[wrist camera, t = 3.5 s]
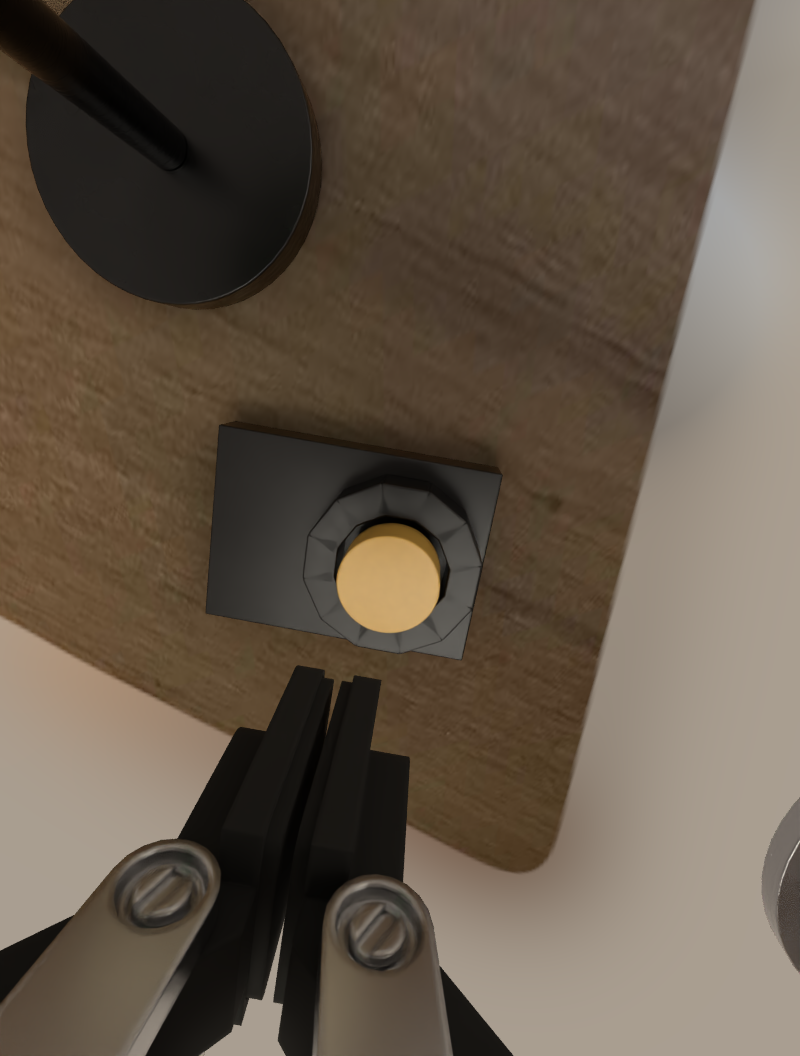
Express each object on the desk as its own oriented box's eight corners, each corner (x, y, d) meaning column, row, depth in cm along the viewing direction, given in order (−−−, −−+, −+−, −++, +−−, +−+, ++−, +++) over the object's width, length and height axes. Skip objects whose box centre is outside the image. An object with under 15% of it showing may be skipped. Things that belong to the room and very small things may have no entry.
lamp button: (448, 531, 20) (449, 546, 18) (430, 620, 21) (429, 642, 19) (351, 514, 20) (343, 527, 18) (338, 603, 21) (329, 623, 19)
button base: (498, 467, 22) (508, 483, 19) (460, 641, 25) (463, 684, 21) (234, 420, 23) (198, 429, 19) (220, 598, 25) (186, 632, 22)
